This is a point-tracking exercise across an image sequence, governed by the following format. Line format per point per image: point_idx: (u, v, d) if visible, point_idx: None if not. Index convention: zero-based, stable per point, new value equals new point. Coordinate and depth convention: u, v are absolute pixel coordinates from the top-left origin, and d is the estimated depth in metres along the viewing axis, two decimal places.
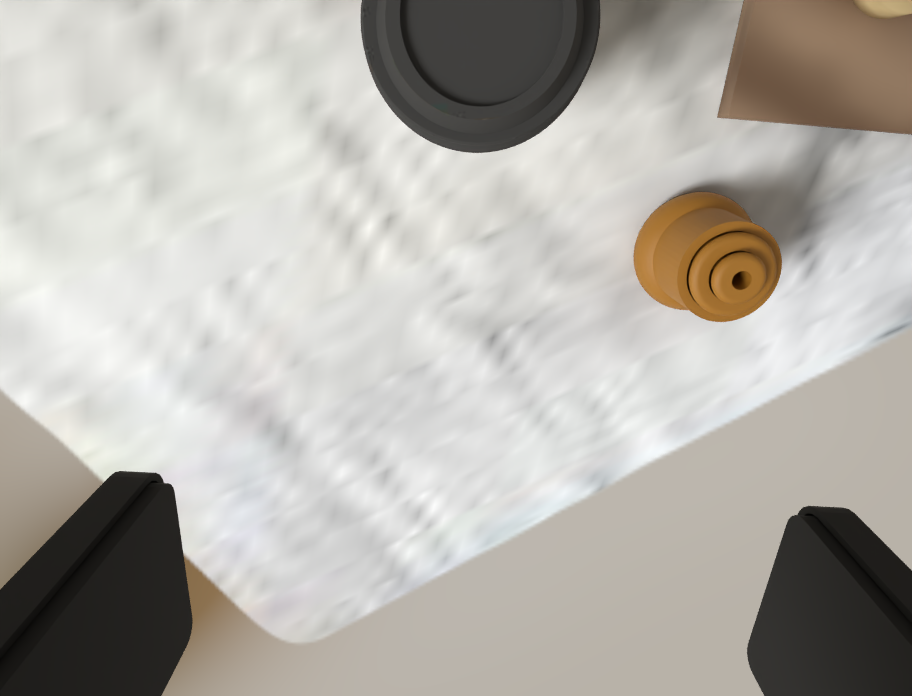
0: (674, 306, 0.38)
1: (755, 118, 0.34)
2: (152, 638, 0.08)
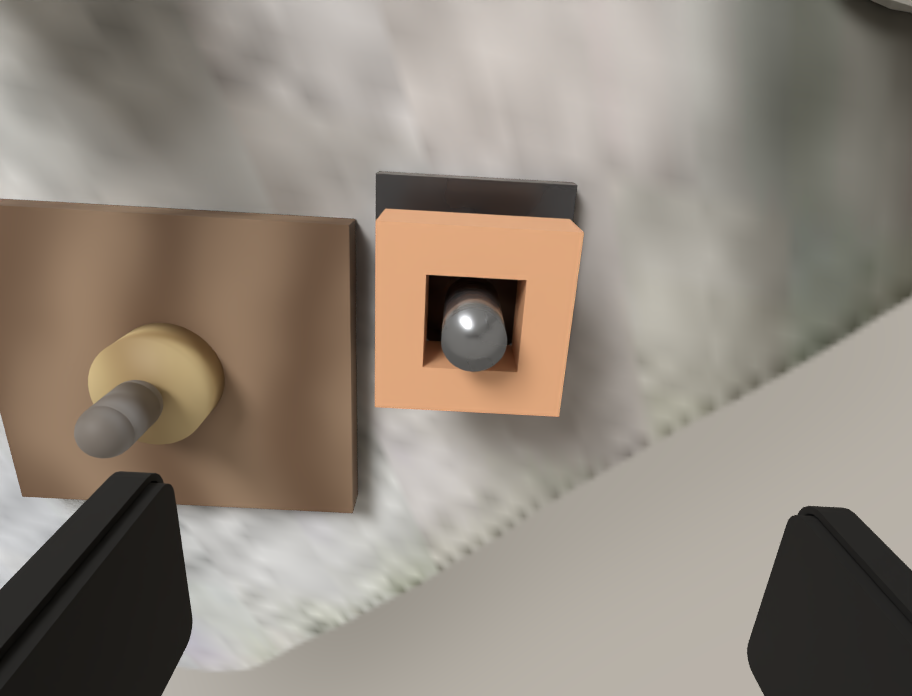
0: None
1: None
2: (152, 638, 0.08)
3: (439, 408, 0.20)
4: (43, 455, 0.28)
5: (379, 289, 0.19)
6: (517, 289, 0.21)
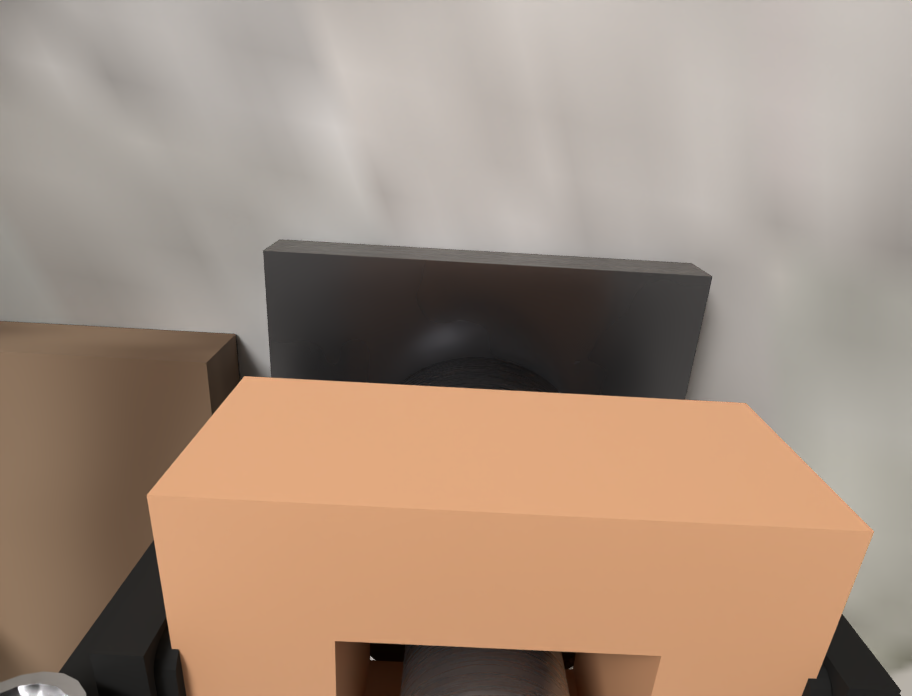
0: None
1: None
2: None
3: None
4: None
5: (190, 674, 0.06)
6: None
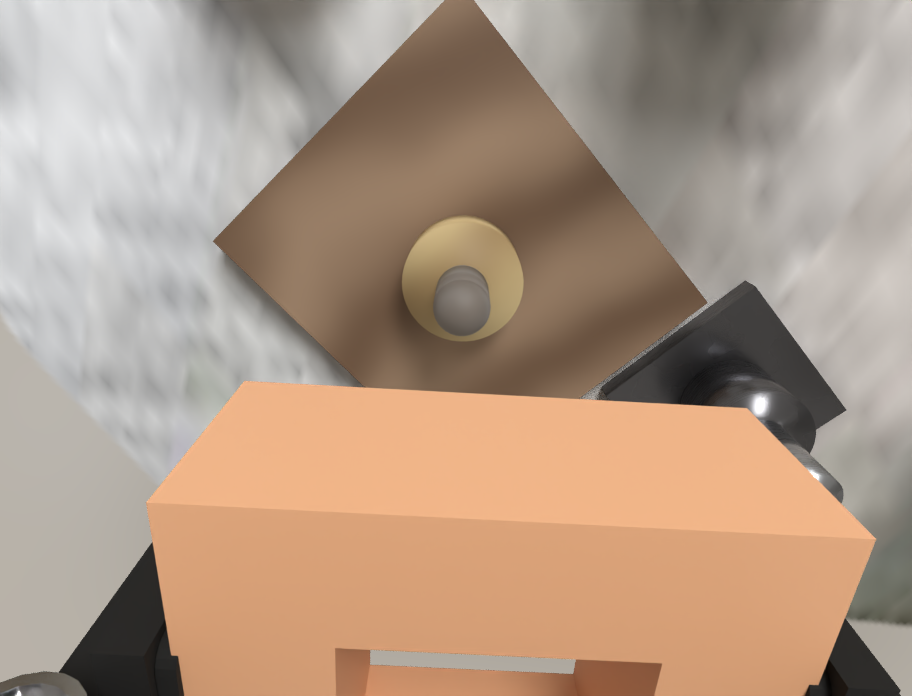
0: None
1: (429, 19, 0.22)
2: None
3: None
4: (277, 230, 0.25)
5: (190, 681, 0.06)
6: None
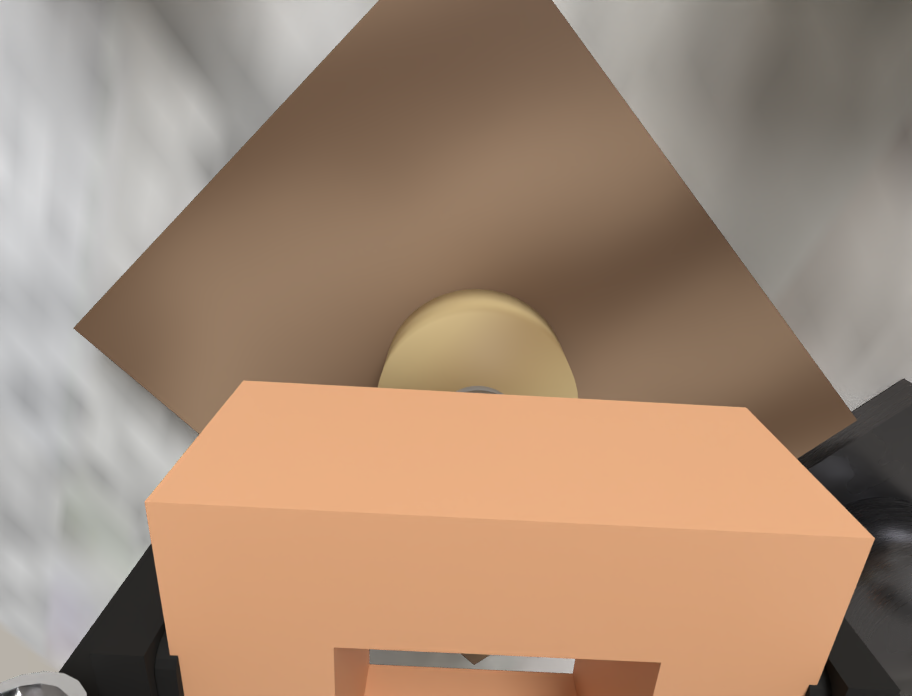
0: None
1: None
2: None
3: None
4: (176, 311, 0.15)
5: (189, 680, 0.06)
6: None
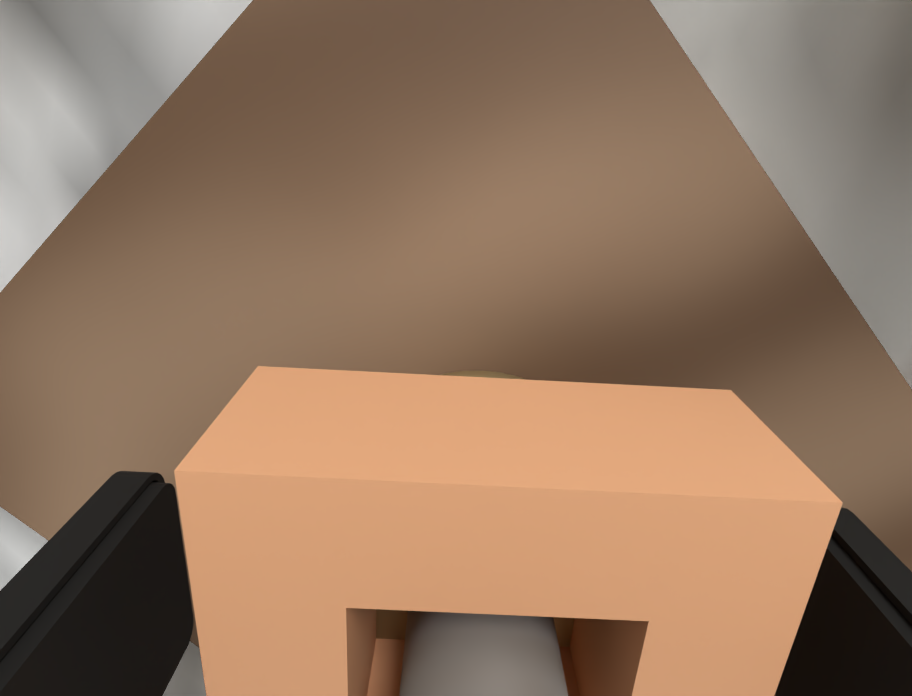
0: None
1: None
2: (153, 637, 0.08)
3: None
4: (35, 401, 0.10)
5: (211, 640, 0.06)
6: None
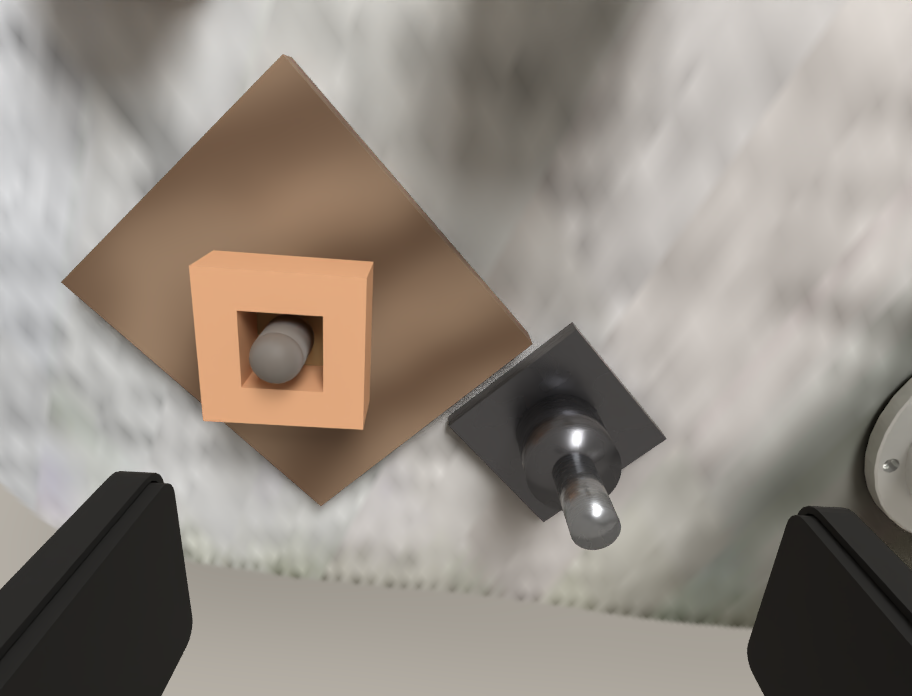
0: None
1: (255, 85, 0.23)
2: (152, 638, 0.08)
3: (259, 422, 0.24)
4: (124, 272, 0.26)
5: (197, 322, 0.22)
6: None
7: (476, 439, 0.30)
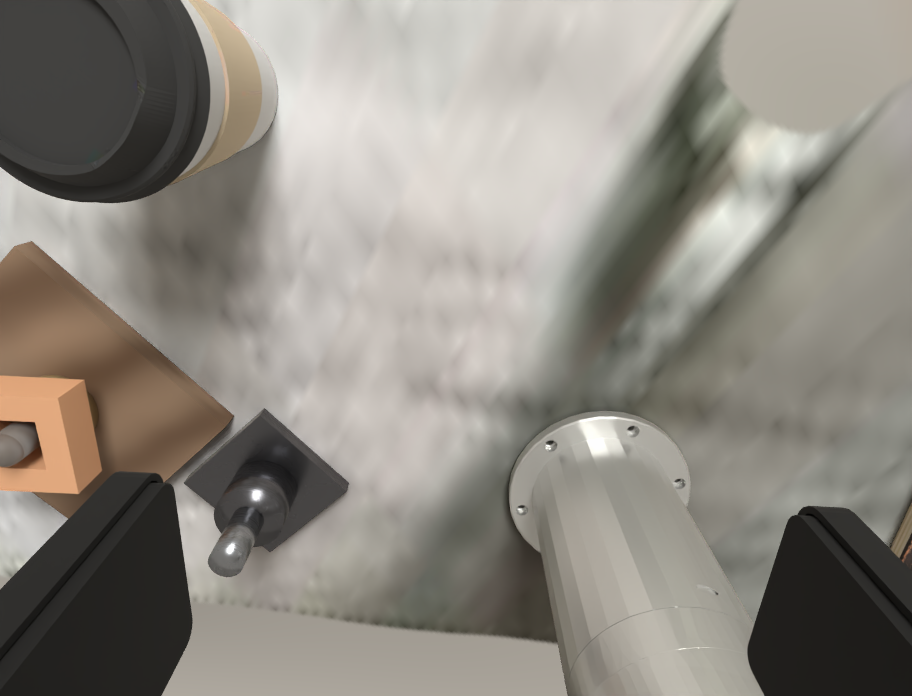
0: None
1: (0, 265, 0.35)
2: (152, 638, 0.08)
3: (7, 489, 0.35)
4: None
5: None
6: None
7: (205, 492, 0.41)
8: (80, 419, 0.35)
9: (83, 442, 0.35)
